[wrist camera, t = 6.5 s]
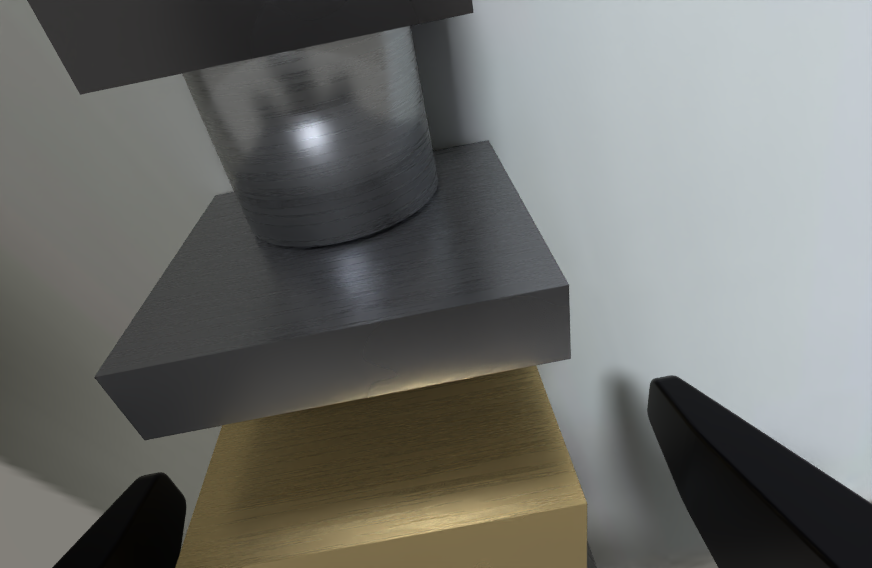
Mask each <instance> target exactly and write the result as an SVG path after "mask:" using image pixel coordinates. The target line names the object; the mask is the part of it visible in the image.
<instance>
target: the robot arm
mask: <svg viewBox="0 0 872 568" xmlns="http://www.w3.org/2000/svg"><path fill="white" fill-rule="evenodd" d="M647 411H648V417H649V421H650V423H651V426H652V428H653V431H654V433H655V435H656V438H657V440H658V443H659V445H660V448H661V450H662V452H663V455H664V457H665V460H666V462H667V465H668V467H669V469H670V472H671V474H672V477H673V479H674V482H675V484H676V487H677V489H678V491H679V493H680V496H681V498H682V500H683V502H684V504H685V506H686V508H687V510H688V512H689V514H690V516H691V518H692V520H693V522H694V523H695V525H696V527H697V529H698V531H699V533H700V534H701V536H702V538H703V540H704V542H705V544H706V545H707V547H708V549H709V551H710V553H711V555H712V557H713V558H714V560H715V562H716V564H717V566H718V568H872V503H870V502H869V501H867V500H865V499H864V498H862V497H861V496H859V495H858V494H856V493H855V492H853V491H852V490H850V489H849V488H847V487H846V486H844V485H843V484H841V483H839V482H838V481H836V480H835V479H833V478H832V477H830V476H829V475H827V474H826V473H824V472H823V471H821V470H820V469H818V468H817V467H815V466H813V465H812V464H810V463H809V462H807V461H806V460H804V459H803V458H801V457H800V456H798V455H797V454H795V453H794V452H792V451H791V450H789V449H787V448H786V447H784V446H783V445H781V444H780V443H778V442H777V441H775V440H774V439H772V438H771V437H769V436H768V435H766V434H765V433H763V432H761V431H760V430H758V429H757V428H755V427H754V426H752V425H751V424H749V423H748V422H746V421H745V420H743V419H742V418H740V417H739V416H737V415H735V414H734V413H732V412H731V411H729V410H728V409H726V408H725V407H723V406H722V405H720V404H719V403H717V402H716V401H714V400H713V399H711V398H710V397H708V396H706V395H705V394H703V393H702V392H700V391H699V390H697V389H696V388H694V387H693V386H691V385H690V384H688V383H687V382H685V381H684V380H682V379H680V378H679V377H677V376H673V375H672V376H665V377H660V378H655V379H653V380H652V381H651V383H650V389H649V398H648V408H647ZM185 515H186V500H185V498H184V496H183V494H182V493H181V492H180V490H179V489H178V488H177V487H176V485H175V484H174V483H173V482H172V480H171V479H170V478H169V477H168V476H167V475H166V474H165V473H162V472H159V473H154V474H148V475H144V476H141V477H139V478H138V479H136V480H135V481H134V482H133V483H132V484H131V485H130V486H129V487H128V489H127V490H126V491H125V492H124V493H123V494H122V495H121V496H120V497H119V498H118V499H117V500H116V501H115V502H114V503H113V504H112V505H111V506H110V507H109V509H108V510H107V511H106V512H105V513H104V514H103V515H102V516H101V517H100V518H99V519H98V520H97V521H96V522H95V523H94V524H93V525H92V526H91V528H90V529H89V530H88V531H87V532H86V533H85V534H84V535H83V536H82V537H81V538H80V539H79V540H78V541H77V542H76V543H75V545H74V546H72V547H71V549H70V550H69V551H68V552H67V553H66V554H65V555H64V556H63V557H62V558H61V559H60V560H59V561H58V562H57V563H56V564H55V565H54V567H52V568H175V567H176V564H177V561H178V558H179V555H180V551H181V544H182V537H183V529H184V522H185Z"/></svg>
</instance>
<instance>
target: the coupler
mask: <svg viewBox="0 0 872 568" xmlns="http://www.w3.org/2000/svg"><path fill="white" fill-rule="evenodd" d="M175 568H587V502H586V499H585V497H584V494H583V491H582V488H581V486H580V483H579V480H578V478H577V475H576V472H575V470H574V467H573V464H572V461H571V459H570V456H569V453H568V451H567V448H566V445H565V442H564V440H563V437H562V434H561V432H560V429H559V426H558V424H557V421H556V418H555V415H554V413H553V410H552V407H551V405H550V402H549V399H548V396H547V394H546V391H545V388H544V386H543V383H542V380H541V378H540V375H539V372H538V369H537V367H536V365H535V366H530V367H524V368H519V369H514V370H509V371H504V372H498V373H493V374H488V375H483V376H477V377H472V378H467V379H462V380H457V381H451V382H446V383H441V384H436V385H430V386H425V387H420V388H415V389H410V390H404V391H399V392H394V393H389V394H384V395H378V396H373V397H368V398H363V399H357V400H352V401H347V402H342V403H337V404H331V405H326V406H321V407H316V408H310V409H305V410H300V411H295V412H290V413H284V414H279V415H274V416H269V417H263V418H258V419H253V420H248V421H243V422H237V423H232V424H227V425H222V428H221V431H220V434H219V437H218V440H217V443H216V446H215V449H214V452H213V455H212V458H211V461H210V464H209V467H208V470H207V473H206V476H205V479H204V482H203V485H202V488H201V491H200V495H199V498H198V501H197V504H196V507H195V510H194V513H193V516H192V519H191V522H190V525H189V528H188V531H187V534H186V537H185V540H184V543H183V546H182V549H181V552H180V555H179V558H178V561H177V564H176V567H175Z"/></svg>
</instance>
